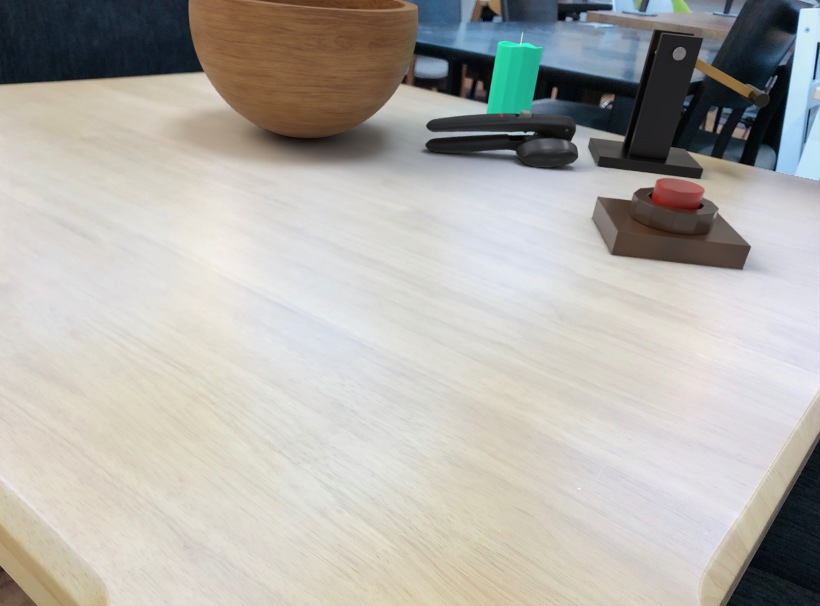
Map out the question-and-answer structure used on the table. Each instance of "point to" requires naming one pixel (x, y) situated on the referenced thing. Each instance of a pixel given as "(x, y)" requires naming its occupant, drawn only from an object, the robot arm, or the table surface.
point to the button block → (669, 232)
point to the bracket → (656, 111)
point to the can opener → (510, 136)
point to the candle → (514, 77)
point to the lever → (735, 84)
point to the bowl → (304, 59)
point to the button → (678, 193)
